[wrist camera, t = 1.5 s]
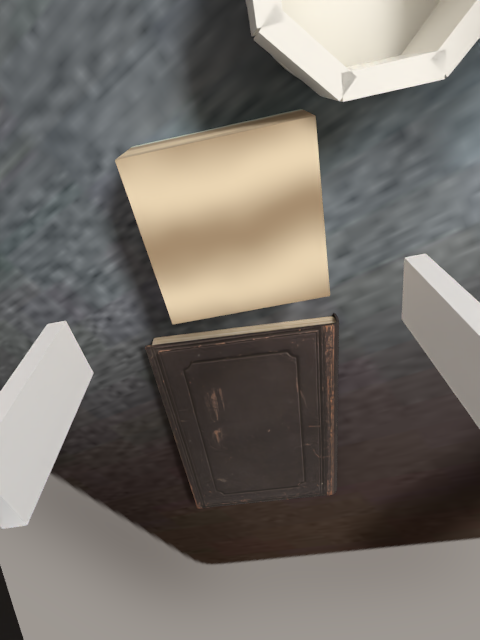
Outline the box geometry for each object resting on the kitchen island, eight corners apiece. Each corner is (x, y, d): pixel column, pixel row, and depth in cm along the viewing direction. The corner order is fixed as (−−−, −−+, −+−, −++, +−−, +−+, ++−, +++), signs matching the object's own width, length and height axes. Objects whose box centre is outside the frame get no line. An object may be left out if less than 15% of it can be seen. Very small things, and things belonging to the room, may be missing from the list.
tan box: (318, 270, 29) (330, 295, 26) (178, 296, 30) (172, 324, 27) (303, 109, 24) (315, 115, 20) (130, 148, 24) (115, 160, 21)
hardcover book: (198, 490, 46) (197, 508, 44) (149, 332, 34) (144, 348, 32) (333, 476, 45) (338, 494, 43) (334, 309, 33) (341, 324, 31)
